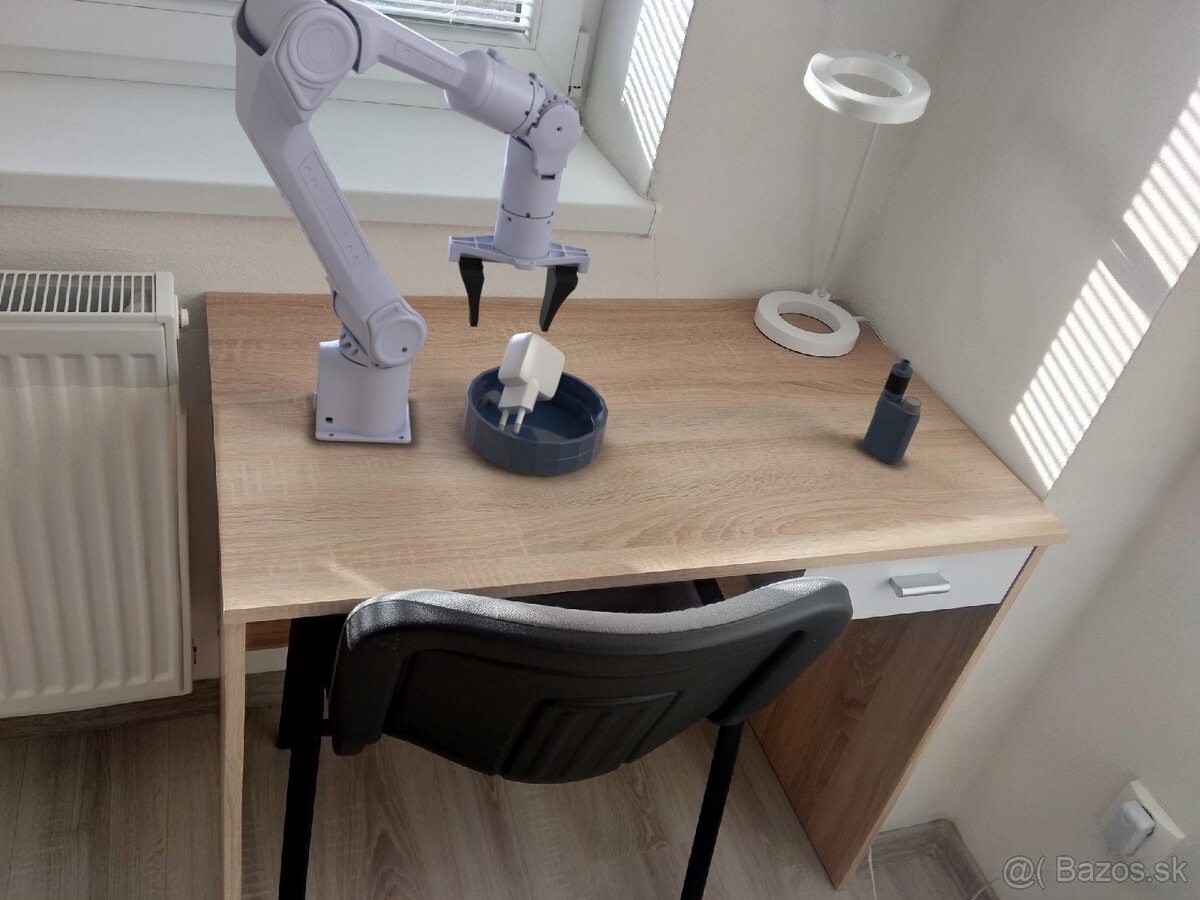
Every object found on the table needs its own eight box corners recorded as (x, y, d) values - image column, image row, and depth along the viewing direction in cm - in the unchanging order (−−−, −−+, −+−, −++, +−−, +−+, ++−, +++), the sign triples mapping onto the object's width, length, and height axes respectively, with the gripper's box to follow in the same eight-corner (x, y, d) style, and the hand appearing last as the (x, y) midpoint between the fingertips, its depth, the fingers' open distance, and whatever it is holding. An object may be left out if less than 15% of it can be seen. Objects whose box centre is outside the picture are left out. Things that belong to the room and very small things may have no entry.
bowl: (469, 476, 105) (474, 440, 102) (456, 394, 117) (460, 360, 114) (612, 481, 109) (621, 446, 106) (585, 401, 121) (593, 368, 118)
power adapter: (544, 447, 110) (505, 423, 106) (513, 448, 113) (474, 425, 109) (573, 354, 113) (536, 327, 110) (542, 358, 117) (506, 332, 113)
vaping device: (867, 438, 126) (902, 353, 119) (904, 461, 123) (942, 375, 116) (856, 445, 124) (890, 358, 117) (893, 468, 121) (930, 381, 115)
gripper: (458, 216, 100) (443, 339, 107) (604, 230, 104) (580, 348, 111) (452, 186, 105) (438, 305, 113) (591, 201, 109) (569, 315, 117)
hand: (508, 324), depth 112 cm, fingers open, 7 cm apart
